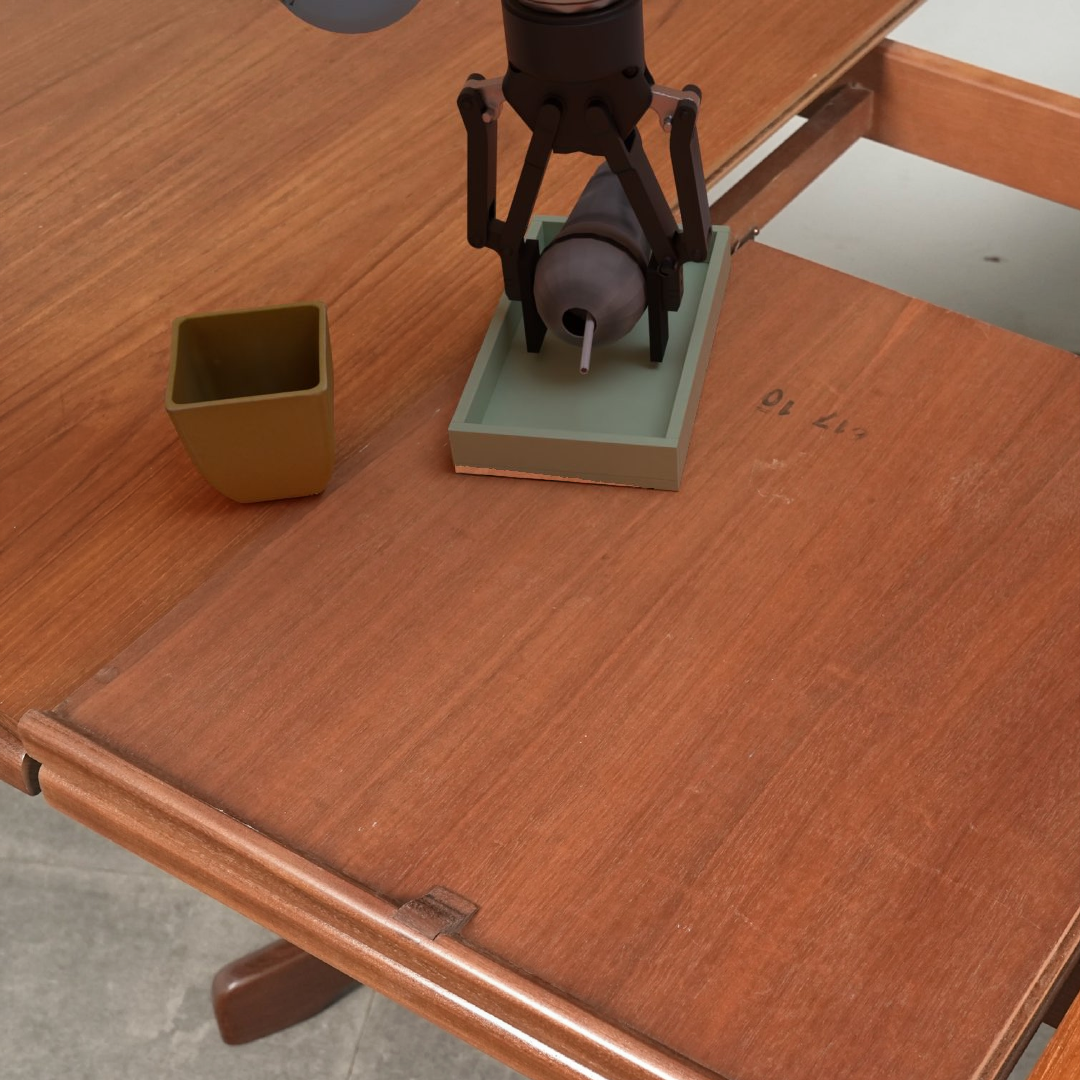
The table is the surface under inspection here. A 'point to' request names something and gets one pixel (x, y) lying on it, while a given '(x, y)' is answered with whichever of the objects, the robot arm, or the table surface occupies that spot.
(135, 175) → the table surface
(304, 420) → the flower pot
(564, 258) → the beverage cup
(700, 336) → the tray
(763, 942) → the table surface
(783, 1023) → the table surface
